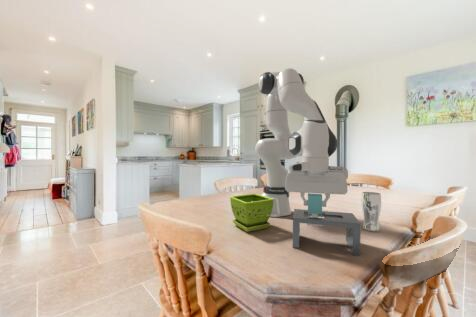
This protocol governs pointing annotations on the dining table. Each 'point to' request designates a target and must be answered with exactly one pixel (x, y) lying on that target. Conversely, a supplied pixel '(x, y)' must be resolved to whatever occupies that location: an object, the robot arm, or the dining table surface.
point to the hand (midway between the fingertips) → (314, 205)
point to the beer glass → (371, 210)
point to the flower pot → (251, 211)
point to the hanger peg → (315, 205)
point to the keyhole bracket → (331, 220)
